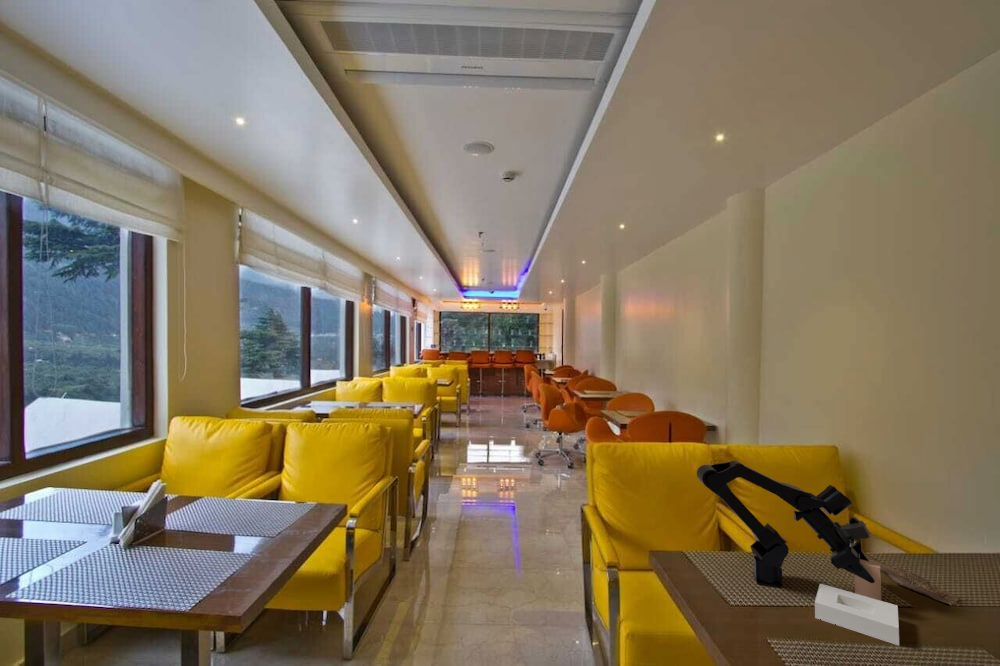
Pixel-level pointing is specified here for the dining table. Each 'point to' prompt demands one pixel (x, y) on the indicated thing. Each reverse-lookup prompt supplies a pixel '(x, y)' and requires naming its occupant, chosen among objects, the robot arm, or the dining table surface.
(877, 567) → the pink rectangular block
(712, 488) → the robot arm
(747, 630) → the dining table surface
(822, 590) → the white slotted block
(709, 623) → the dining table surface
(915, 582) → the wooden fragment
